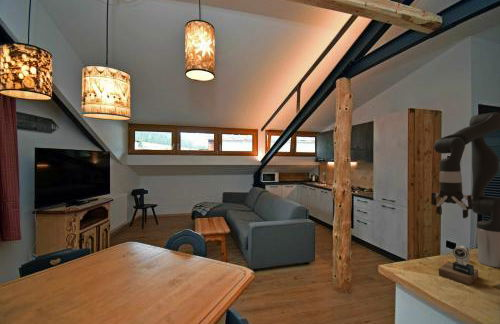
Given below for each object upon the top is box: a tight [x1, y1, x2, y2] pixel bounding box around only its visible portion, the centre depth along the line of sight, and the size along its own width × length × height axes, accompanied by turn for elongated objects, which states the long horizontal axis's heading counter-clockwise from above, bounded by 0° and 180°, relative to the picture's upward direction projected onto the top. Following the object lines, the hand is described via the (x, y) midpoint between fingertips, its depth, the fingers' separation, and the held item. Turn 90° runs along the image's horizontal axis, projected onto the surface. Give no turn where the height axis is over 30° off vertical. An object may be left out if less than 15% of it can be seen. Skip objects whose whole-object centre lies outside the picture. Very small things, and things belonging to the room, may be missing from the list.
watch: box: [452, 245, 475, 275], centre depth 94 cm, size 6×8×11 cm
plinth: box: [438, 261, 479, 286], centre depth 96 cm, size 12×10×3 cm
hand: (451, 216), depth 98 cm, fingers open, 8 cm apart
